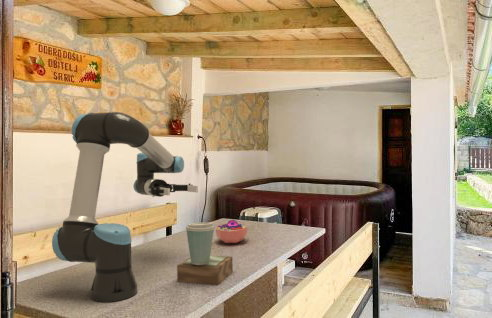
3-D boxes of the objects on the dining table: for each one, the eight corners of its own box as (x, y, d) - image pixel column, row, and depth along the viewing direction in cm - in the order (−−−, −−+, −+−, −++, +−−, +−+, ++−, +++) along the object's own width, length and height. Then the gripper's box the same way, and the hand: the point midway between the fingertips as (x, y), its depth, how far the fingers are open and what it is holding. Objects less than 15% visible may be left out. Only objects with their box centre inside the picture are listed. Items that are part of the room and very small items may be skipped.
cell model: (210, 246, 202) (209, 224, 202) (222, 237, 221) (221, 217, 221) (242, 247, 198) (242, 224, 198) (251, 238, 217) (251, 218, 217)
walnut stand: (218, 284, 144) (217, 267, 143) (177, 281, 148) (177, 264, 148) (232, 271, 159) (232, 255, 159) (195, 269, 164) (195, 253, 163)
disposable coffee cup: (181, 262, 151) (180, 222, 150) (206, 257, 157) (205, 219, 156) (194, 268, 142) (193, 226, 142) (220, 263, 148) (220, 222, 148)
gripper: (180, 193, 188) (208, 196, 172) (130, 198, 171) (156, 202, 155) (180, 177, 187) (207, 179, 172) (130, 181, 170) (156, 183, 155)
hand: (183, 190), depth 163 cm, fingers open, 13 cm apart
